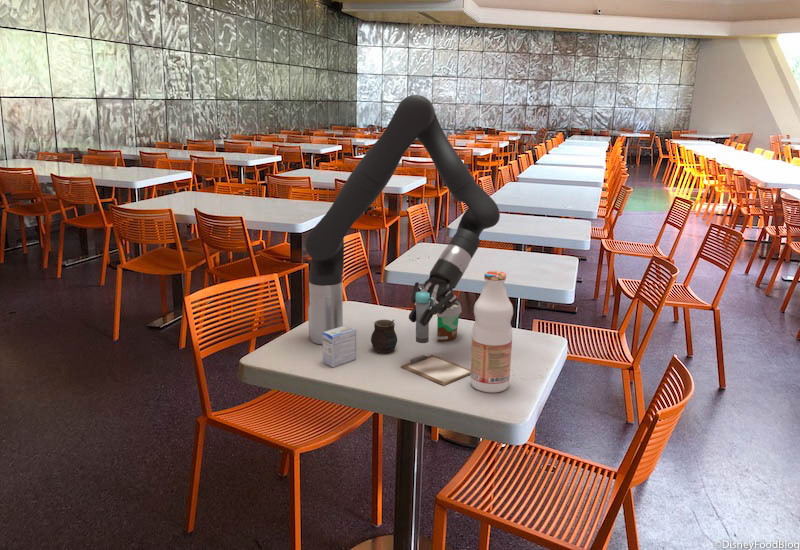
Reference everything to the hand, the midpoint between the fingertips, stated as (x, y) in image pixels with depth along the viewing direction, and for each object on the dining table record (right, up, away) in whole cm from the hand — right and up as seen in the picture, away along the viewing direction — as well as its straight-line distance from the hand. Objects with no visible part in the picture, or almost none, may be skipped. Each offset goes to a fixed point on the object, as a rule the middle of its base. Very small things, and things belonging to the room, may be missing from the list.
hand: (416, 322), depth 158 cm
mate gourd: (-8, -9, +17) cm, 21 cm away
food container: (+10, -6, +27) cm, 30 cm away
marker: (+1, -5, +3) cm, 6 cm away
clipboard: (+5, -12, +4) cm, 14 cm away
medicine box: (-20, -11, +9) cm, 24 cm away
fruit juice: (+17, -15, -4) cm, 23 cm away
